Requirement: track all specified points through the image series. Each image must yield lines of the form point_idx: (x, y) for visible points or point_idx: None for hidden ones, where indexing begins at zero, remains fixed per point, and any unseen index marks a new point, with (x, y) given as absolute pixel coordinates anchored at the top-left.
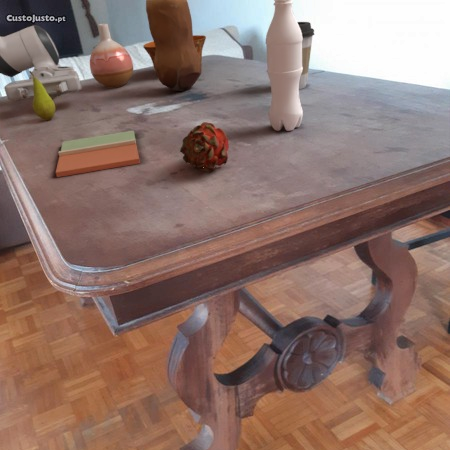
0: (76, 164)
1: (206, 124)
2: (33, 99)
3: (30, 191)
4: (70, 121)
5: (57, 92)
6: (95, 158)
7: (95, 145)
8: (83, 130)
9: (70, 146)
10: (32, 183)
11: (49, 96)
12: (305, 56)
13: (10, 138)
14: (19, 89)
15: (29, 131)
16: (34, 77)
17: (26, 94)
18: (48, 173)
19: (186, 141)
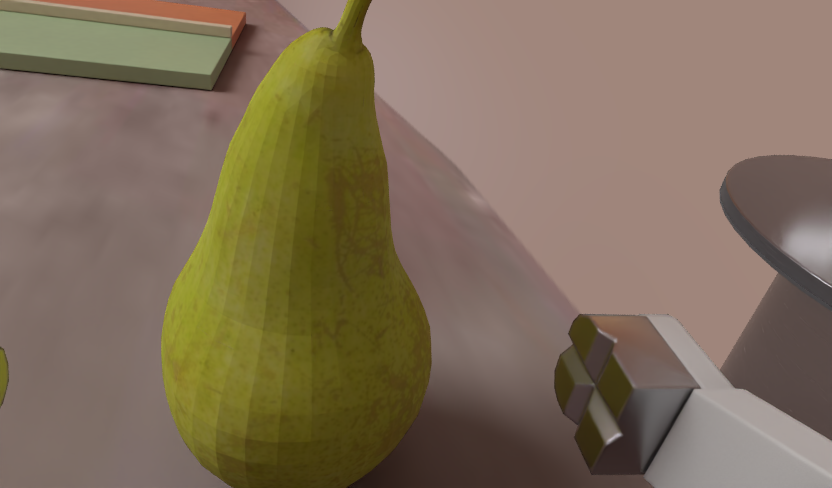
0: (196, 11)
1: None
2: (405, 273)
3: (296, 19)
4: (92, 306)
5: (1, 377)
6: (145, 9)
7: (121, 13)
8: (82, 154)
9: (191, 51)
10: (296, 28)
11: (191, 258)
12: None
13: (475, 215)
14: (794, 430)
15: (399, 256)
16: (341, 23)
17: (589, 405)
18: (264, 34)
19: None
